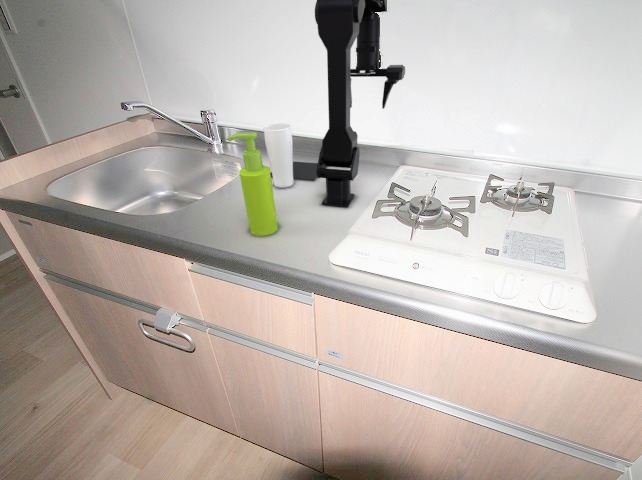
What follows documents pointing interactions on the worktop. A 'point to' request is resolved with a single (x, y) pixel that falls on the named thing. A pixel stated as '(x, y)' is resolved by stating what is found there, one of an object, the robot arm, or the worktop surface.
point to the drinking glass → (280, 153)
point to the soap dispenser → (257, 188)
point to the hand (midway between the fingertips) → (366, 107)
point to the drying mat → (304, 171)
